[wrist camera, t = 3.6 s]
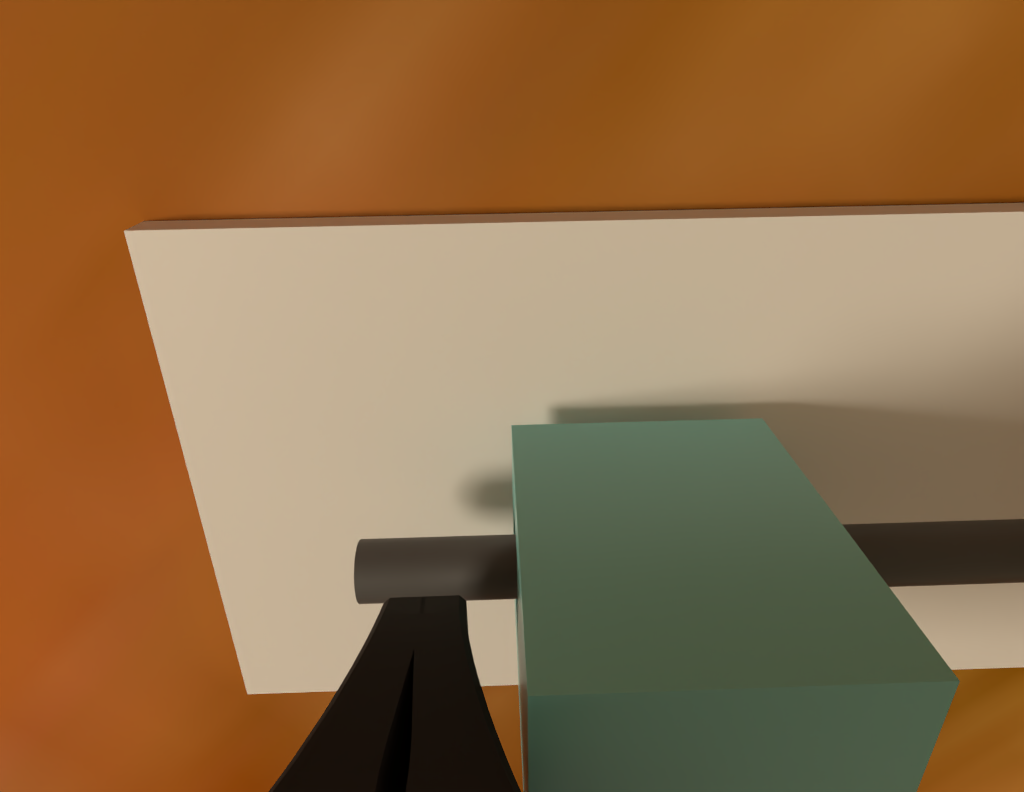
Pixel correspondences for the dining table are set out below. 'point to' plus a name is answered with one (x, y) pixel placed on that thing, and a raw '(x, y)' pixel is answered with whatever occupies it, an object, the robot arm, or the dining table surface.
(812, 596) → the sleeve
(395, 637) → the robot arm
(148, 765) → the dining table surface
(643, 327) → the rod stand
